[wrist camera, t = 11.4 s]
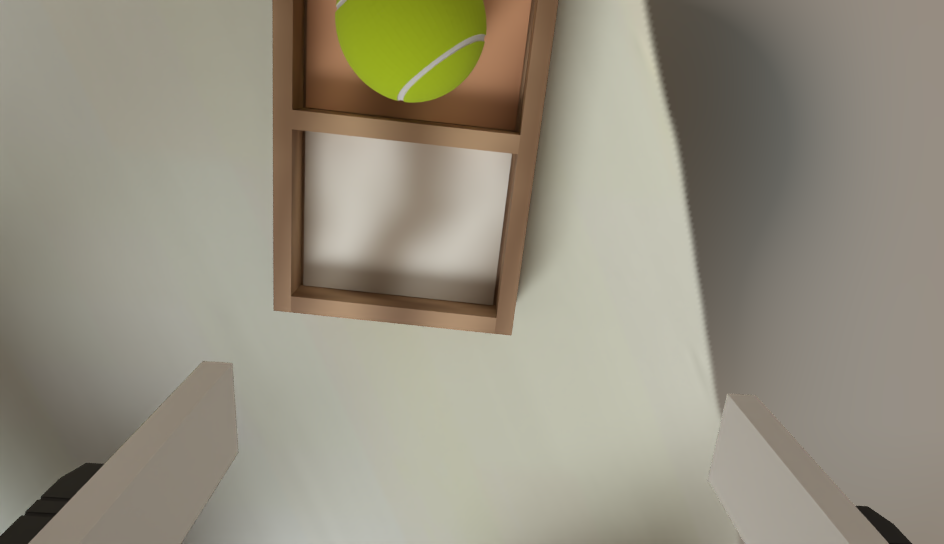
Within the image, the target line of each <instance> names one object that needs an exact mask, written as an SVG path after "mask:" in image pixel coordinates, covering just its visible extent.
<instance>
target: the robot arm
mask: <svg viewBox="0 0 944 544" xmlns="http://www.w3.org/2000/svg"><path fill="white" fill-rule="evenodd" d="M237 454H238V440H237V425H236V410H235V395H234V380H233V364H232V363H224V362H208V361H203V362H202V363H201V364H200V365H199V366H198V367H197V368H196V369H195V370H194V371H193V372H192V373H191V374H190V375H189V376H188V377H187V378H186V379H185V380H184V382H183V383H182V384H181V385H180V386H179V387H178V388H177V389H176V390H175V391H174V392H173V393H172V394H171V395H170V396H169V397H168V398H167V399H166V400H165V401H164V402H163V403H162V404H161V406H160V407H159V408H158V409H157V410H156V411H155V412H154V413H153V414H152V415H151V416H150V417H149V418H148V419H147V420H146V421H145V422H144V423H143V424H142V425H141V426H140V427H139V428H138V430H137V431H136V432H135V433H134V434H133V435H132V436H131V437H130V438H129V439H128V440H127V441H126V442H125V443H124V444H123V445H122V446H121V447H120V448H119V449H118V450H117V451H116V452H115V454H114V455H113V456H112V457H111V458H110V459H109V460H108V461H107V462H106V463H105V464H96V463H85V464H84V465H82V466H80V467H78V468H77V469H75V470H73V471H72V472H70V473H68V474H66V475H65V476H63V477H61V478H60V479H59V480H58V481H57V482H56V483H55V484H54V485H53V486H51V487H50V488H49V489H48V490H47V491H46V492H45V493H44V494H43V495H42V496H41V499H40V500H37V501H36V502H35V503H34V504H33V505H32V506H31V507H30V508H29V509H28V510H27V511H26V512H25V515H24V516H20V517H19V518H18V519H17V520H16V521H15V522H14V523H13V524H12V525H11V526H10V527H9V528H8V529H7V530H6V531H5V532H4V533H3V534H2V535H1V536H0V544H181V543H182V541H183V540H184V538H185V537H186V535H187V533H188V532H189V530H190V529H191V527H192V525H193V524H194V522H195V521H196V519H197V518H198V516H199V514H200V513H201V511H202V510H203V508H204V506H205V505H206V503H207V502H208V500H209V498H210V497H211V495H212V494H213V492H214V490H215V489H216V487H217V486H218V484H219V483H220V481H221V479H222V478H223V476H224V475H225V473H226V471H227V470H228V468H229V467H230V465H231V463H232V462H233V460H234V459H235V457H236V455H237ZM708 482H709V484H710V485H711V487H712V489H713V490H714V492H715V494H716V495H717V497H718V499H719V501H720V502H721V504H722V506H723V507H724V509H725V511H726V513H727V514H728V516H729V518H730V519H731V521H732V523H733V524H734V526H735V528H736V530H737V531H738V533H739V535H740V536H741V538H742V540H743V541H744V543H745V544H912V543H911V542H910V541H909V540H908V539H907V538H906V537H905V536H904V535H903V534H902V533H901V532H900V531H899V529H898V528H897V527H896V526H895V525H894V524H892V523H891V522H890V521H888V520H887V519H885V518H884V517H882V516H881V515H879V514H878V513H877V512H875V511H874V510H872V509H871V508H869V507H867V506H855V505H854V504H853V503H852V502H851V501H850V500H849V498H848V497H847V496H846V495H845V494H844V493H843V492H842V491H841V490H840V489H839V488H838V486H837V485H836V484H835V483H834V482H833V481H832V480H831V479H830V477H829V476H828V475H827V474H826V473H825V472H824V471H823V469H821V467H820V466H819V465H818V464H817V463H816V462H815V461H814V459H813V458H812V457H811V456H810V455H809V454H808V453H807V452H806V451H805V450H804V448H802V446H801V445H800V444H799V443H798V442H797V441H796V440H795V438H794V437H793V436H792V435H791V434H790V433H789V432H788V431H787V429H786V428H785V427H784V426H783V425H782V424H781V423H780V422H779V421H778V420H777V418H776V417H775V416H774V415H773V414H772V413H771V412H770V410H769V409H768V408H767V407H766V406H765V405H764V404H763V403H762V402H761V400H760V399H759V398H758V397H757V396H756V395H744V394H727V397H726V402H725V406H724V410H723V415H722V419H721V423H720V428H719V432H718V436H717V441H716V445H715V449H714V454H713V458H712V462H711V467H710V471H709V475H708Z"/></svg>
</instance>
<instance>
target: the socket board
mask: <svg viewBox="0 0 944 544" xmlns="http://www.w3.org/2000/svg"><path fill="white" fill-rule="evenodd" d="M558 1H559V0H483V2H484V6H485V12H486V23H487V30H486V36H485V38H484V41H485V44H484V47H483V50H482V53H481V55H480V58H479V60H478V62H477V64H476V66H475V67H474V69H473V70H472V72H471V73H470V74H469V76H468V77H467V78H466V79H465V80H464V81H463V82H462V83H461V84H460V85H459V86H458V87H456V88H455V89H454V90H452V91H451V92H449V93H447V94H445V95H443V96H441V97H439V98H436V99H433V100H430V101H425V102H415V103H410V102H404V101H402V100H399V101H397V100H393V99H390V98H388V97H386V96H383V95H381V94H380V93H378V92H376V91H375V90H373V89H372V88H370V87H369V86H368V85H367V84H365V83H364V82H363V81H362V80H361V79H360V78H359V77H358V76H357V74H356V73H355V72H354V71H353V69H352V68H351V67H350V65H349V63H348V62H347V60H346V58H345V56H344V54H343V52H342V49H341V47H340V44H339V40H338V36H337V32H336V24H335V12H336V11H337V7H336V2H337V0H273V264H274V311H284V312H293V313H303V314H312V315H322V316H331V317H341V318H350V319H360V320H369V321H379V322H389V323H398V324H408V325H417V326H427V327H436V328H446V329H455V330H465V331H474V332H484V333H494V334H503V335H511V334H512V327H513V320H514V313H515V306H516V299H517V292H518V285H519V278H520V270H521V263H522V256H523V249H524V242H525V235H526V228H527V221H528V214H529V207H530V200H531V192H532V185H533V178H534V171H535V164H536V157H537V150H538V143H539V136H540V129H541V122H542V114H543V107H544V100H545V93H546V86H547V79H548V72H549V65H550V58H551V51H552V44H553V36H554V29H555V22H556V15H557V8H558Z"/></svg>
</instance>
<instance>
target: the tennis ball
mask: <svg viewBox="0 0 944 544" xmlns="http://www.w3.org/2000/svg"><path fill="white" fill-rule="evenodd" d="M336 7H337V11H336V12H335V24H336V32H337V36H338V40H339V44H340V47H341V49H342V52H343V54H344V56H345V58H346V60H347V62H348V63H349V65H350V67H351V68H352V69H353V71H354V72H355V73H356V74H357V76H358V77H359V78H360V79H361V80H362V81H363V82H364V83H365V84H367V85H368V86H369V87H370V88H372V89H373V90H375V91H376V92H378V93H380V94H381V95H383V96H386V97H388V98H390V99H393V100H397V101H399V100H402V101H404V102H410V103H415V102H425V101H430V100H433V99H436V98H439V97H441V96H443V95H445V94H447V93H449V92H451V91H452V90H454V89H455V88H456V87H458V86H459V85H460V84H461V83H462V82H463V81H464V80H465V79H466V78H467V77H468V76H469V74H470V73H471V72H472V70H473V69H474V67H475V66H476V64H477V62H478V60H479V58H480V55H481V53H482V50H483V47H484V44H485V41H484V38H485V36H486V30H487V23H486V12H485V6H484V2H483V0H337V2H336Z"/></svg>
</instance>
